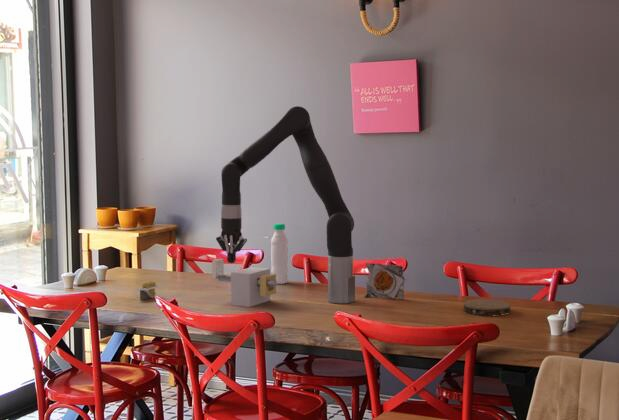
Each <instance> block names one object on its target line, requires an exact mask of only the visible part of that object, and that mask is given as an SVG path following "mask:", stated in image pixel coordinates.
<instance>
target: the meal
mask: <svg viewBox="0 0 619 420" xmlns="http://www.w3.org/2000/svg"><path fill="white" fill-rule="evenodd" d="M365 267H366V268H367V271H368V272H369V274H367V275H366V277H367V280H366V282H365V284H366V286H365V287H366V293H365V296H364V297H363V298H364V299H366V298H384V297H391V298H390V299H393V298H396V299H397V298H398V299H399V298H400V299H399V300H402V299H403V300H404V298H405V297H404V296H405V293H404V292H405V291H404V288H405V280H406V279H405V276H404V266H403V265H395V264H383V263H377V262H375V263H373V262H371V263H368V262H366V263H365ZM401 287H402V289H401Z"/></svg>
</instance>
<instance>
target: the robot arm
mask: <svg viewBox="0 0 619 420" xmlns="http://www.w3.org/2000/svg"><path fill="white" fill-rule="evenodd" d="M314 132H315V131H314V128H313V125H312V122H311V117H310V113H309V111H308V109H306V108H305V107H303V106H296V105H295V106H293V107H290V108H289V109H288V110H287V112H286V113H285V114H284V115H283V116H282V118H280V120H279V121H278V122H277V123H276V124H275V125H273V127H272V128H271V129H270V130H268V131H267V132H265V133H264V134H263V135H262V136H260V137H259V138H257V139H256V140H255V141H254V142H252V143H251V144H250V145H249V146H247V147H246V148H244V150H242V152H240V154H239V155H238V156H235V157H234V158H233V159H232V160H231V161H229V162H227V163H226V164H225V165H224V166H223V167H222V169H221V173H220V174H221V188H222V193H221V210H220V211H221V213H220V215H221V217H220V219H221V221H220V225H221V226H220V228H221V231H220V235H219V236H217V237H216V239H215V240H216V242H217V243H218V244H219V247H220V248H221V250H222V251H223V252H226V254H227V255H226V257H227V258H226V259H227V263H228V264H235V262H236V260H237V259H236V257H237V256H236V255H237V252H240V251H242V248H244V247H245V246H244V245H246V243H247V242H248V239H247V238H244V236H243V233H242V231H241V230H242V205H241V204H242V197H241V196H242V195H241V178H242V176H243V175H245V174H246V173H247V172H248V171H249V170H250V169H252V168H254V167H255V166H257V165H258V164H260V162H262V161H263V160H264V159H265V158H266V157H267V156H269V155H270V154H271V153H272V152H273V151H274V149H276V148H277V147H278V146H279V145H280V144H281V143H282V142H283V141H285V140H287V138H289V137H290V136H292V137H293V138H294V141H295V142H296V145H297V147H298V150H299V153H300V157H301V162H302V164H303V168H304V170H305V173H306V175H307V176H306V177H307V178H308V181H309V182H310V184H311V187H312V188H313V190H314V192H315V193H316V195H317V196H318V197H319V198H320V200H321V201H322V203H323V205H324V208H325V210H326V214H327V216H328V219H327V222H326V248H327V255H328V256H327V257H328V258H327V286H328V287H327V297H328V298H327V300H328V301H327V302H329V303H333V304H350V303H353V302H355V301H356V275H354V249H353V244H352V243H353V242H352V237H353V236H352V233H353V231H354V229H355V220H354V218H353V215H352V214H351V212H350V210H349V208H348V206H347V205H346V203H345V201H344V199H343V197H342V194H341V191H340V188H339V186H338V182H337V180H336V177H335V174H334V172H333V169H332V167H331V164H330V162H329V159H328V158H327V156H326V154H325V152H324V151H323V149H322V147H321V146H320V144H319V142H318V140H317V138H316V136H315V133H314Z"/></svg>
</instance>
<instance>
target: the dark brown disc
mask: <svg viewBox="0 0 619 420" xmlns="http://www.w3.org/2000/svg"><path fill="white" fill-rule="evenodd" d="M463 312H464V313H466V314H468V315H472V316H479V317H494V316H493V315H501V314H506V313H509V312H510V313H511V304H510V303H509V302H506V301H502V300H498V299H497V300H496V299H484V298H483V299H470V300H466V301H464V303H463Z"/></svg>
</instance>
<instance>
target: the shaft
mask: <svg viewBox="0 0 619 420" xmlns="http://www.w3.org/2000/svg"><path fill="white" fill-rule="evenodd" d="M211 262H212V263H211V264H212V266H211V267H212V269H211V270H212V280H218V282H225V283H231V275H225V272H224V268H225V267H224V258H216V259H213V260H211ZM257 285H260V279H257ZM277 285H278V284H277V282H276V280H269V281H268V286H270V287H276V288H277Z"/></svg>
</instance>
